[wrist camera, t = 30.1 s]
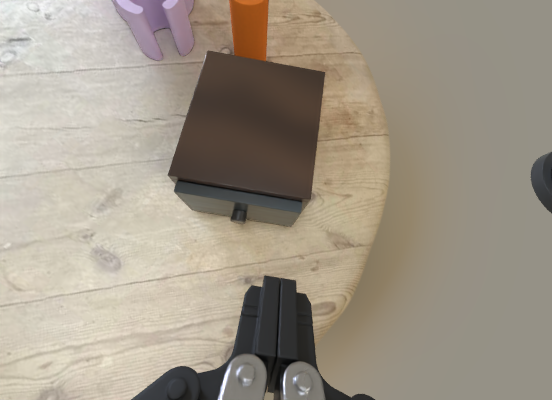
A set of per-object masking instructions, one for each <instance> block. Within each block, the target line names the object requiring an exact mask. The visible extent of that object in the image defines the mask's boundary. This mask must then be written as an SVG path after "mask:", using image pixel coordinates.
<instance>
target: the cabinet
mask: <svg viewBox="0 0 552 400" xmlns="http://www.w3.org/2000/svg"><path fill="white" fill-rule="evenodd" d="M324 78H325V72H321V71H316V70H310V69H305V68H300V67H294V66H289V65H283V64H278V63H273V62H267V61H262V60H256V59H251V58H246V57H240V56H235V55H229V54H224V53H219V52H213V51H207V54H206V57H205V60H204V63H203V66H202V69H201V73H200V76H199V79H198V82H197V85H196V88H195V91H194V95H193V98H192V101H191V104H190V107H189V110H188V113H187V117H186V120H185V123H184V126H183V129H182V132H181V135H180V138H179V142H178V145H177V148H176V151H175V154H174V157H173V160H172V164H171V167H170V170H169V173H168V176H169V177H170V178H171V179H172V181H173V182H174V183H175V184H176V182H177V181H183V182H189V183H195V184H197V183H200V184H206V185H212V186H218V187H224V188H230V189H236V190H242V191H247V192H253V193H259V194H265V195H271V196H277V197H283V198H289V199H292V200H295V201H301V202H302V210H301V212H302V211H303V209H304V208H305V207H306V205H307V204H308V202H309V201H310V199H311V191H312V183H313V174H314V165H315V156H316V148H317V139H318V130H319V121H320V113H321V104H322V95H323V86H324ZM298 217H299V216H298Z"/></svg>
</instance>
